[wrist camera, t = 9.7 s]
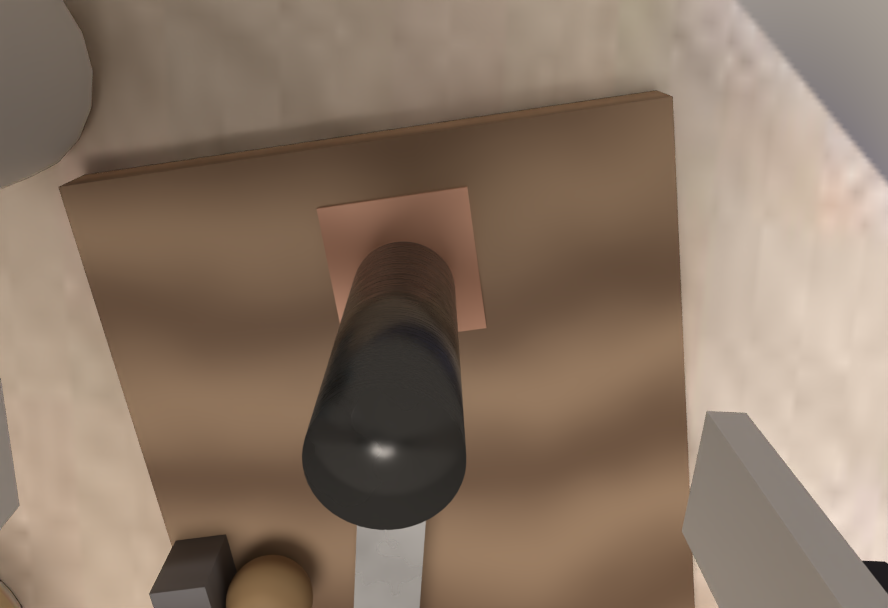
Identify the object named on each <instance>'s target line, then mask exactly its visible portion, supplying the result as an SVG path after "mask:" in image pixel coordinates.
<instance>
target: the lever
mask: <svg viewBox="0 0 888 608" xmlns="http://www.w3.org/2000/svg"><path fill="white" fill-rule="evenodd" d="M302 465H303V470H304V475H305V478H306V480H307V483H308V485H309V487H310V489H311V490H312V492H313V494H314V495H315V496H316V498H317V499H318V500H319V501H320V502H321V503H322V505H323V506H324V507H325V508H327V509H328V510H329V511H330V512H332V513H333V514H334V515H336V516H338V517H339V518H341V519H343V520H345V521H347V522H349V523H351V524H354V525H357V535H356V561H355V588H354V608H420V595H421V581H422V567H423V553H424V540H425V526H426V520H428V519H430V518H432V517H434V516H435V515H437V514H438V513H439V512H441V511H442V510H443V509H444V508H445V507H446V506H447V505H448V504H449V503H450V502H451V501H452V500H453V498H454V497H455V495H456V494H457V492H458V490H459V488H460V486H461V484H462V482H463V479H464V476H465V470H466V442H465V427H464V412H463V397H462V382H461V367H460V352H459V338H458V323H457V308H456V293H455V283H454V278H453V275H452V273H451V270H450V268H449V267H448V265H447V263H446V262H445V261H444V260H443V258H441V257H440V256H439V255H438V254H437V253H436V252H434V251H433V250H431V249H430V248H428V247H426V246H423V245H421V244H417V243H414V242H393V243H389V244H386V245H383V246H381V247H379V248H377V249H375V250H374V251H372V252H371V253H370V254H369V255H368V256H367V257H366V258H365V259H364V260H363V261H362V262H361V264H360V266H359V267H358V269H357V271H356V274H355V277H354V280H353V283H352V286H351V290H350V293H349V296H348V299H347V303H346V306H345V309H344V312H343V316H342V319H341V322H340V325H339V329H338V332H337V335H336V338H335V342H334V345H333V348H332V351H331V355H330V358H329V361H328V364H327V368H326V371H325V374H324V377H323V381H322V384H321V387H320V390H319V394H318V397H317V400H316V403H315V407H314V410H313V413H312V416H311V420H310V423H309V426H308V429H307V433H306V436H305V440H304V444H303V449H302Z"/></svg>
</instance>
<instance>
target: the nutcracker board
mask: <svg viewBox="0 0 888 608" xmlns="http://www.w3.org/2000/svg"><path fill="white" fill-rule="evenodd" d="M59 190H60V194H61V197H62V200H63V203H64V206H65V209H66V213H67V216H68V219H69V222H70V225H71V228H72V231H73V235H74V238H75V241H76V244H77V247H78V250H79V254H80V257H81V260H82V263H83V266H84V269H85V273H86V276H87V279H88V282H89V285H90V288H91V292H92V295H93V298H94V301H95V304H96V307H97V311H98V314H99V317H100V320H101V323H102V326H103V330H104V333H105V336H106V339H107V342H108V345H109V349H110V352H111V355H112V358H113V361H114V364H115V368H116V371H117V374H118V377H119V380H120V383H121V387H122V390H123V393H124V396H125V399H126V402H127V406H128V409H129V412H130V415H131V418H132V421H133V424H134V428H135V431H136V434H137V437H138V440H139V443H140V447H141V450H142V453H143V456H144V459H145V462H146V466H147V469H148V472H149V475H150V478H151V481H152V485H153V488H154V491H155V494H156V497H157V500H158V504H159V507H160V510H161V513H162V516H163V519H164V523H165V526H166V529H167V532H168V535H169V538H170V542H171V545H172V549H171V551H170V553H169V555H168V557H167V559H166V561H165V563H164V565H163V567H162V569H161V571H160V573H159V575H158V577H157V579H156V581H155V583H154V585H153V587H152V589H151V591H150V593H149V595H150V598H151V601H152V604H153V607H154V608H354V588H355V561H356V535H357V525H354V524H351V523H349V522H347V521H345V520H343V519H341V518H339V517H338V516H336V515H334V514H333V513H332V512H330V511H329V510H328V509H327V508H325V507H324V506H323V505H322V503H321V502H320V501H319V500H318V499H317V498H316V496H315V495H314V494H313V492H312V490H311V489H310V487H309V485H308V483H307V480H306V478H305V475H304V470H303V465H302V449H303V444H304V440H305V436H306V433H307V429H308V426H309V423H310V420H311V416H312V413H313V410H314V407H315V403H316V400H317V397H318V394H319V390H320V387H321V384H322V381H323V377H324V374H325V371H326V368H327V364H328V361H329V358H330V355H331V351H332V348H333V345H334V342H335V338H336V335H337V332H338V329H339V325H340V322H341V319H342V316H343V312H344V309H345V306H346V303H347V299H348V296H349V293H350V290H351V286H352V283H353V280H354V277H355V274H356V271H357V269H358V267H359V266H360V264H361V262H362V261H363V260H364V259H365V258H366V257H367V256H368V255H369V254H370V253H371V252H372V251H374V250H375V249H377V248H379V247H381V246H383V245H386V244H389V243H393V242H414V243H417V244H421V245H423V246H426V247H428V248H430V249H431V250H433V251H434V252H436V253H437V254H438V255H439V256H440V257H441V258H443V260H444V261H445V262H446V263H447V265H448V267H449V268H450V270H451V273H452V275H453V278H454V283H455V293H456V308H457V323H458V338H459V352H460V367H461V382H462V397H463V412H464V427H465V442H466V470H465V476H464V479H463V482H462V484H461V486H460V488H459V490H458V492H457V494H456V495H455V497H454V498H453V500H452V501H451V502H450V503H449V504H448V505H447V506H446V507H445V508H444V509H443V510H442V511H441V512H439V513H438V514H437V515H435V516H434V517H432V518H430V519H428V520H426V526H425V540H424V553H423V567H422V581H421V595H420V608H695V605H694V582H693V559H692V551H691V549H690V547H689V545H688V543H687V541H686V539H685V537H684V535H683V533H682V527H683V522H684V518H685V513H686V508H687V503H688V499H689V494H690V489H689V466H688V442H687V419H686V396H685V373H684V349H683V326H682V303H681V280H680V256H679V233H678V210H677V187H676V163H675V140H674V117H673V96H670V95H667V94H664V93H662V92H659V91H650V92H643V93H636V94H629V95H622V96H616V97H609V98H602V99H595V100H589V101H582V102H575V103H568V104H562V105H555V106H548V107H541V108H535V109H528V110H521V111H514V112H507V113H501V114H494V115H487V116H480V117H474V118H467V119H460V120H453V121H447V122H440V123H433V124H426V125H419V126H413V127H406V128H399V129H392V130H386V131H379V132H372V133H365V134H359V135H352V136H345V137H338V138H331V139H325V140H318V141H311V142H304V143H298V144H291V145H284V146H277V147H271V148H264V149H257V150H250V151H243V152H237V153H230V154H223V155H216V156H210V157H203V158H196V159H189V160H183V161H176V162H169V163H162V164H155V165H149V166H142V167H135V168H128V169H122V170H115V171H108V172H101V173H95V174H88V175H83V176H81V177H79V178H77V179H74V180H72V181H70V182H68V183H66V184H64V185H62V186H60V187H59Z"/></svg>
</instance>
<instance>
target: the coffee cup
mask: <svg viewBox="0 0 888 608" xmlns="http://www.w3.org/2000/svg"><path fill="white" fill-rule="evenodd" d="M0 608H21V606H20V604H19V602H18V601H17V599H16V598H15V596H14V595H13V594H12V592H11V591H10V590H9V589H8V588H7V587H6V586H5V584H3V583H2V582H1V581H0Z"/></svg>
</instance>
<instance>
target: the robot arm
mask: <svg viewBox="0 0 888 608" xmlns="http://www.w3.org/2000/svg"><path fill="white" fill-rule="evenodd" d="M18 507H19V499H18V492H17V485H16V478H15V471H14V465H13V458H12V451H11V444H10V438H9V431H8V424H7V417H6V411H5V404H4V397H3V390H2V384H1V378H0V530H1V528H2V527H3V526H4V524H5V523H6V522H7V521H8V519H9V518H10V517H11V516H12V514H13V513H14V512H15V511H16V509H17V508H18ZM682 533H683V535H684V537H685V539H686V541H687V543H688V545H689V547H690V549H691V551H692V553H693V555H694V557H695V559H696V561H697V564H698V566H699V568H700V570H701V572H702V574H703V576H704V578H705V580H706V582H707V584H708V586H709V588H710V590H711V592H712V594H713V596H714V598H715V600H716V602H717V604H718V607H719V608H888V564H887V563H886V562H880V561H861V559H860V558H859V557H858V555H857V554H856V553H855V552H854V550H853V549H852V548H851V547H850V545H849V544H848V543H847V541H846V540H845V539H844V538H843V536H842V535H841V534H840V532H839V531H838V530H837V529H836V527H835V526H834V525H833V524H832V522H831V521H830V520H829V518H828V517H827V516H826V515H825V513H824V512H823V511H822V509H821V508H820V507H819V506H818V504H817V503H816V502H815V500H814V499H813V498H812V497H811V495H810V494H809V493H808V492H807V490H806V489H805V488H804V486H803V485H802V484H801V483H800V481H799V480H798V479H797V477H796V476H795V475H794V474H793V472H792V471H791V470H790V468H789V467H788V466H787V465H786V463H785V462H784V461H783V460H782V458H781V457H780V456H779V454H778V453H777V452H776V451H775V449H774V448H773V447H772V445H771V444H770V443H769V442H768V440H767V439H766V438H765V436H764V435H763V434H762V433H761V431H760V430H759V429H758V428H757V426H756V425H755V424H754V422H753V421H752V420H751V419H750V417H749V416H748V415H747V413H737V412H715V411H707V412H706V417H705V422H704V427H703V432H702V436H701V441H700V446H699V451H698V455H697V460H696V465H695V470H694V475H693V479H692V484H691V489H690V494H689V499H688V503H687V508H686V513H685V518H684V522H683V527H682Z"/></svg>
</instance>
